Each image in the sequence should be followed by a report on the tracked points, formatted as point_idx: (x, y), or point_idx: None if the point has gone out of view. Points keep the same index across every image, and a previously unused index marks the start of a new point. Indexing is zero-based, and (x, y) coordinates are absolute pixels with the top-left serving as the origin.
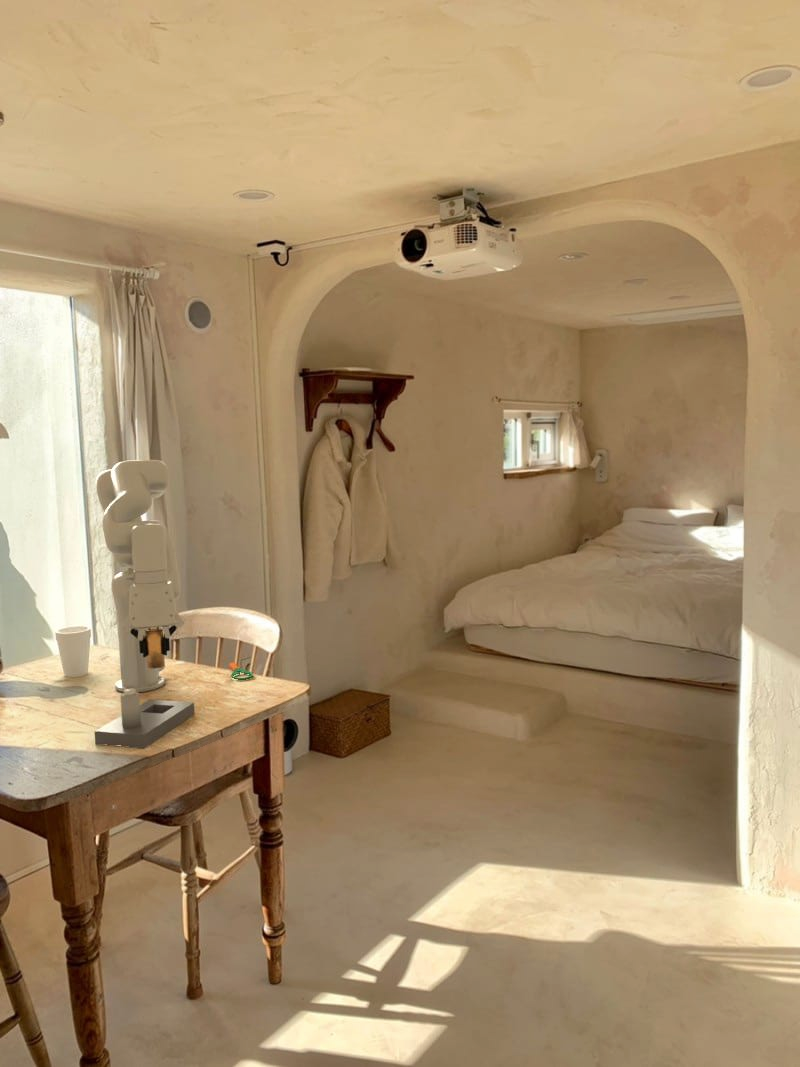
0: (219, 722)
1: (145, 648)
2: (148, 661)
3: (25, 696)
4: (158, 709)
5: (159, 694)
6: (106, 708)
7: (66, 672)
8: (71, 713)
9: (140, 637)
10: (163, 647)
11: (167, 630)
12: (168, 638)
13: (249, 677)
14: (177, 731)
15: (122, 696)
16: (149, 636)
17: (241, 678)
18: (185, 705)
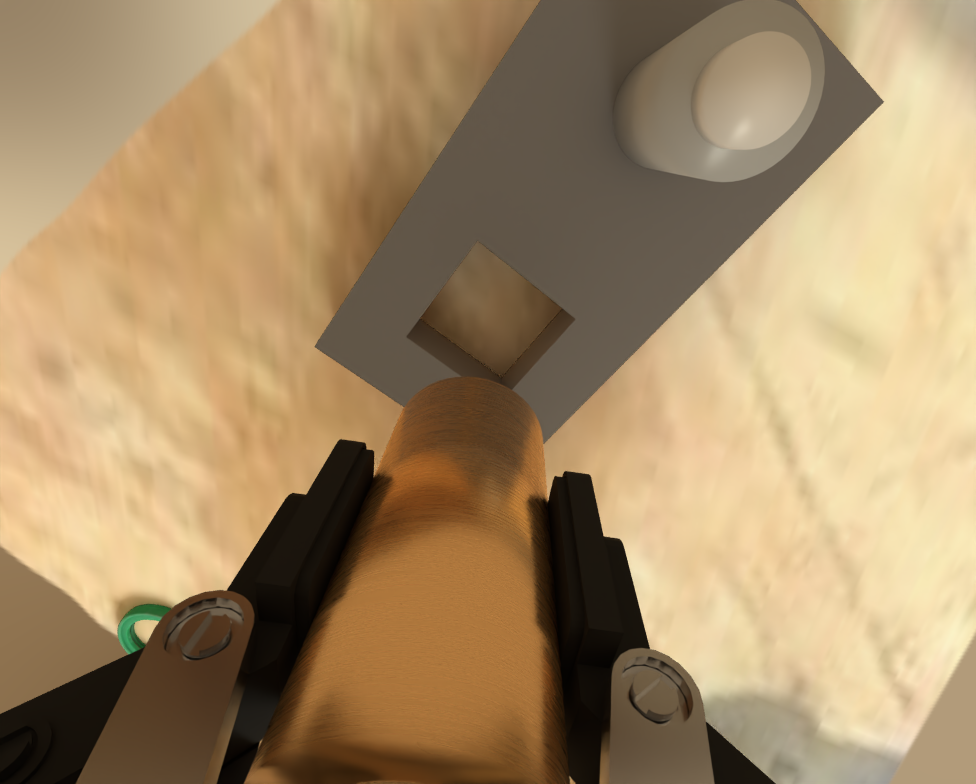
0: (217, 154)
1: (568, 539)
2: (534, 444)
3: (857, 745)
4: None
5: None
6: (657, 547)
7: None
8: (786, 552)
9: (653, 704)
10: (346, 503)
11: (134, 727)
12: (226, 606)
13: (129, 613)
14: (424, 113)
15: (813, 64)
16: (509, 668)
17: (156, 613)
18: (355, 318)
